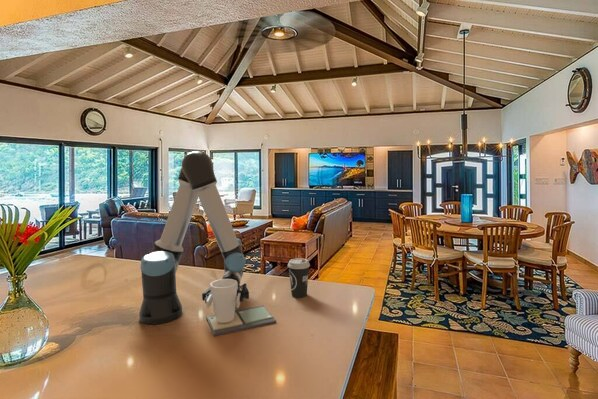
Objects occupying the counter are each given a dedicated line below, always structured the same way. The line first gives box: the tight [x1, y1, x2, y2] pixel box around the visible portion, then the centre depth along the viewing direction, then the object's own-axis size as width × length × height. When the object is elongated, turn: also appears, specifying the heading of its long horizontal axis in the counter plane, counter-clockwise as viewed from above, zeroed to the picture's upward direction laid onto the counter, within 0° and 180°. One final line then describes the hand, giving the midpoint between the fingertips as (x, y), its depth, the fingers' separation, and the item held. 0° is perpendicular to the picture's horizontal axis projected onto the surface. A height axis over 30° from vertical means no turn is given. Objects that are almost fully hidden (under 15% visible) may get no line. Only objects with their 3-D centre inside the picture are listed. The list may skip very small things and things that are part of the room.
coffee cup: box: [287, 257, 311, 299], centre depth 147 cm, size 10×10×15 cm
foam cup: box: [209, 278, 238, 323], centre depth 122 cm, size 10×9×13 cm
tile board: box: [205, 304, 277, 337], centre depth 125 cm, size 22×15×1 cm
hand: (222, 304), depth 118 cm, fingers closed on foam cup, 9 cm apart
